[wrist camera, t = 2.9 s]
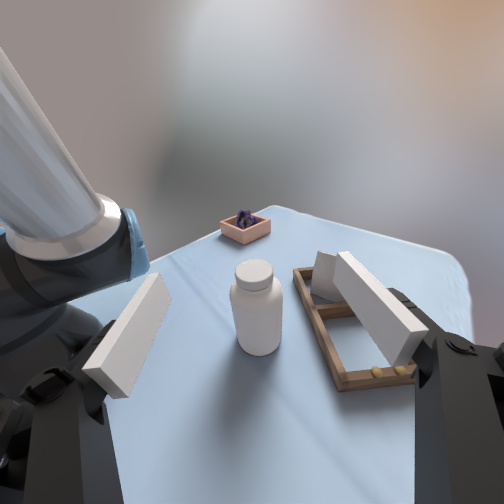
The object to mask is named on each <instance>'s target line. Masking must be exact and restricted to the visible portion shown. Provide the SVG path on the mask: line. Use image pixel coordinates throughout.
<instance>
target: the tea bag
mask: <svg viewBox="0 0 504 504" xmlns="http://www.w3.org/2000/svg"><path fill="white" fill-rule="evenodd" d="M336 259H337V255H334V254H330V253H326V252H322V251H318V253H317V257H316V261H315V265H314V269H313V273H312V282H311V291H310V293H312V294H314V295H317V296H319V297H322V298H324V299H327V300H329V301H332V302H334V303H340V302H344V301H345V299H344V297H343V296H342V294H341V293H340V291H339V290H338V288H337V287H336V286H335V284H334V283H333V277H334V271H335V265H336Z"/></svg>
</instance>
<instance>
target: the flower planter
mask: <svg viewBox="0 0 504 504" xmlns="http://www.w3.org/2000/svg"><path fill="white" fill-rule="evenodd" d="M236 216H237V215H236ZM236 216H234V217H231V218H228V219H225V220H223V221H220V227H221V232H222V234H224V235H226V236H228V237H230V238H232V239H234V240H236V241H238V242H240V243H242V244H244V245H245V244H247V243H250V242H252V241H254V240H256V239H258V238H260V237H262V236H264V235H266V234H268V233H270V232H271V222H270V219H267V218H264V217H261V216H257V215H254V214H251V216H253V217H256V218H258V224H256V225H253V226H251V227H249V228H246V229H244V230H243V229H240V228H238V227H235V222H236Z"/></svg>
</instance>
